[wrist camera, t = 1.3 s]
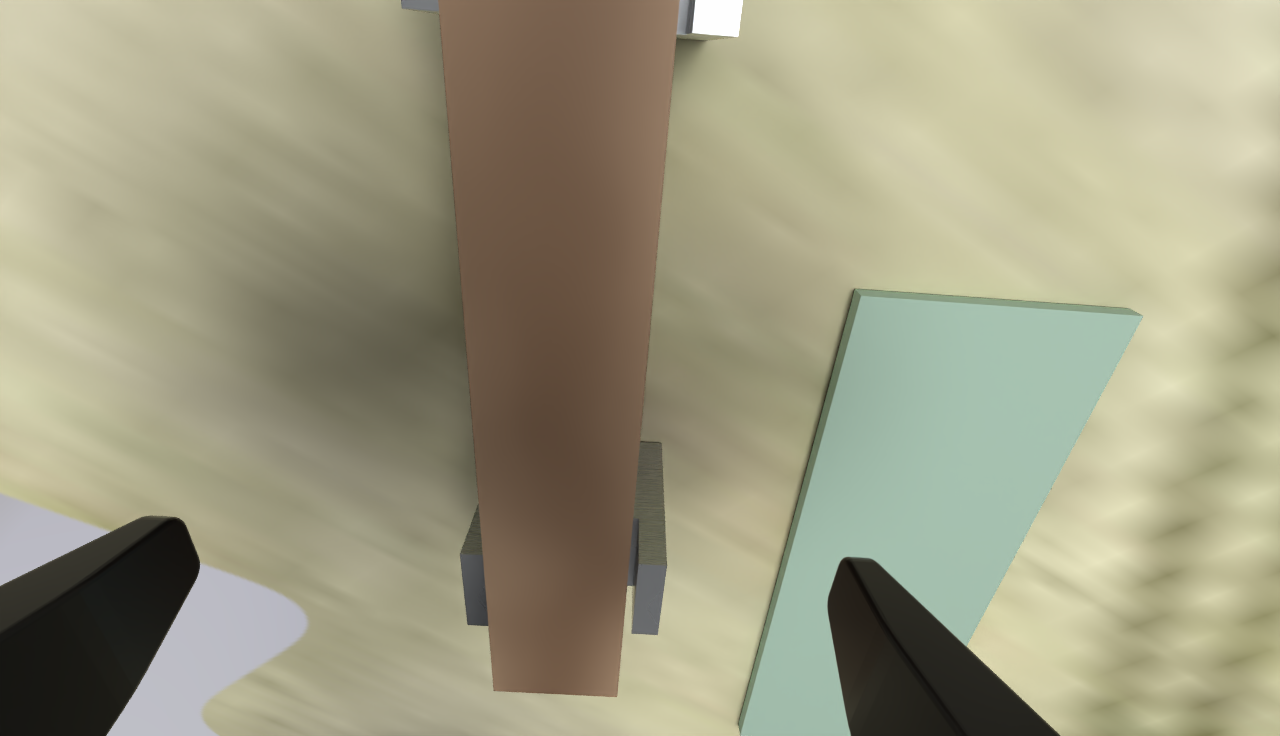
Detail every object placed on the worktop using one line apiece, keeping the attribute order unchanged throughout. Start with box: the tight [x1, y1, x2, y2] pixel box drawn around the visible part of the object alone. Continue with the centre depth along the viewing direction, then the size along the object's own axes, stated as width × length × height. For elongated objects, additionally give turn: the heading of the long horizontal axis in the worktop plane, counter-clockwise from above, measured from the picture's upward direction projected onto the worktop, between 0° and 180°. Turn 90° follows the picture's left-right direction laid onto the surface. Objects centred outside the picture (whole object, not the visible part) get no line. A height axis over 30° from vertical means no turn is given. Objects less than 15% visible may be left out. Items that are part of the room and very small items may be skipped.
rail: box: [438, 0, 680, 697], centre depth 13 cm, size 4×20×4 cm, turn 176°
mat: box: [739, 289, 1143, 736], centre depth 24 cm, size 9×24×1 cm, turn 176°
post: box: [460, 442, 667, 635], centre depth 20 cm, size 6×3×6 cm, turn 86°
